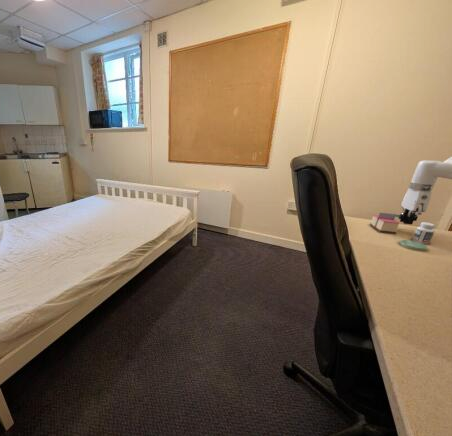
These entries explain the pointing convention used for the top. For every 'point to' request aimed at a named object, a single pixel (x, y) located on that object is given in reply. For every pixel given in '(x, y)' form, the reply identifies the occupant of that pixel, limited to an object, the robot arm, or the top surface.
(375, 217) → the cake slice
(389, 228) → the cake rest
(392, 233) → the cake board
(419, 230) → the pill bottle
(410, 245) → the plate
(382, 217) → the knife
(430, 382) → the top surface
